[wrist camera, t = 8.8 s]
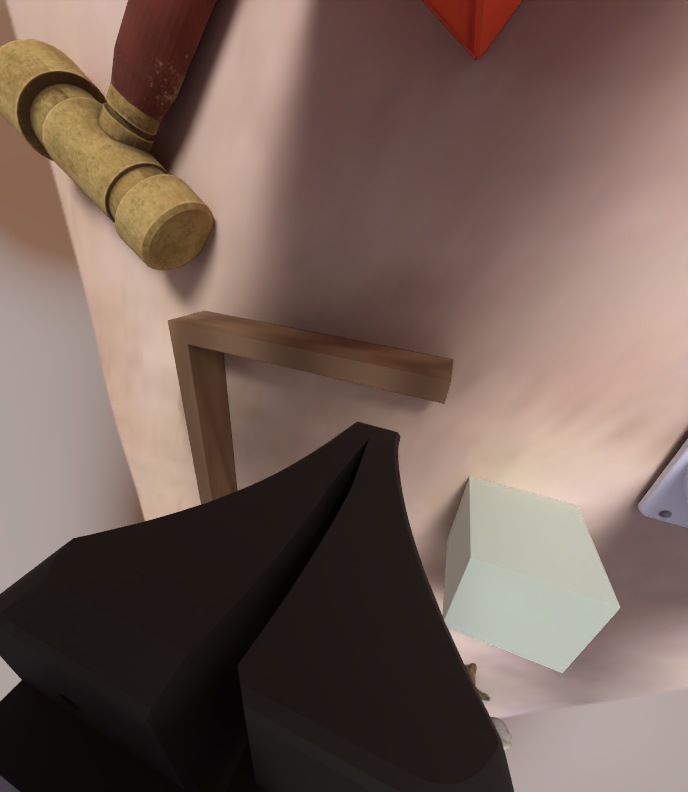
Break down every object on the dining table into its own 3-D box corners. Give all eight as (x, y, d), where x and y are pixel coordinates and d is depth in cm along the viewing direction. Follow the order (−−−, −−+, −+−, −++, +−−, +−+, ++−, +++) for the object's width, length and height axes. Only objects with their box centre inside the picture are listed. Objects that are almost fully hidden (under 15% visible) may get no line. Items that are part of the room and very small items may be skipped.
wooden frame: (453, 359, 17) (450, 381, 14) (391, 583, 27) (384, 619, 24) (203, 310, 21) (167, 320, 18) (230, 520, 31) (208, 545, 28)
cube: (577, 504, 18) (620, 607, 13) (539, 568, 21) (562, 673, 16) (469, 475, 20) (470, 557, 15) (447, 538, 23) (441, 625, 17)
